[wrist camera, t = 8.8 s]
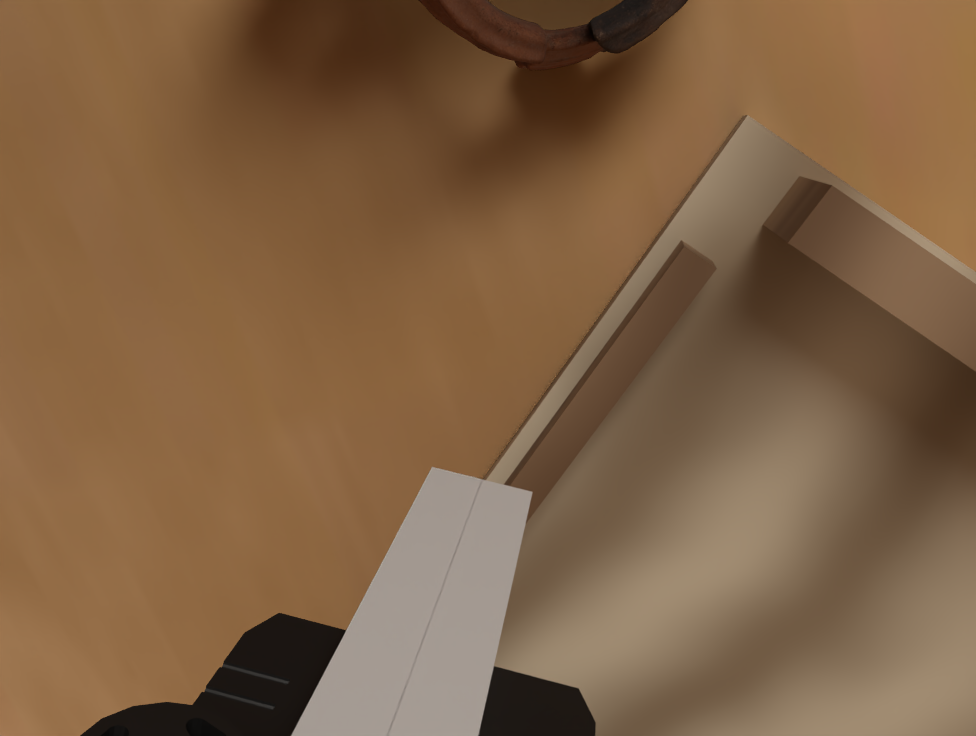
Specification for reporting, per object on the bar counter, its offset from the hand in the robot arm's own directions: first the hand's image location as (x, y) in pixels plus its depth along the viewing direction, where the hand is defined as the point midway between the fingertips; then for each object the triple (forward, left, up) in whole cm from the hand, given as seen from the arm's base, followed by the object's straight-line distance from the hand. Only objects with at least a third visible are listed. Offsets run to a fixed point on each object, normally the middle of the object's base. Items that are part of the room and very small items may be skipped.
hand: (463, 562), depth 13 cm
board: (+10, -4, -14) cm, 17 cm away
